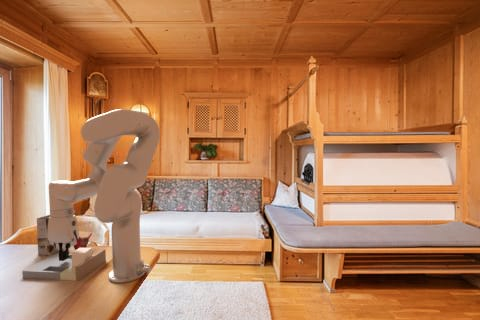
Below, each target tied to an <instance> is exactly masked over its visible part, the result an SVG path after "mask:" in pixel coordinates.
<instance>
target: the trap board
mask: <svg viewBox="0 0 480 320" xmlns="http://www.w3.org/2000/svg"><path fill="white" fill-rule="evenodd" d="M106 256H107V255H106V249H102V250H99V251H98V252H97V253H95V254H92V257H90V258H89V259H87V260H85V261H84V262H82V263H81V264H79V265H77V266H72V255H71V253H69V258H68V259H66V260H64V261H59V252H55V253H53V254H51V255H49V257H47V258H44V259H43V260H40V261H39V262H37V263H35V264H33V265H31V266H29V267H27V268H25V269H23V270H22V278H23V279H40V280H44V279H45V280H60V281H80V280H82V279H83V278H84V277H86V276H87V275H89V274H90V273H91V272H93V271H95V270H96V269H97V268H99V267H100V266H102V265H103V264H105V262H106V261H107V260H106V259H107V257H106Z"/></svg>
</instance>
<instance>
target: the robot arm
mask: <svg viewBox="0 0 480 320" xmlns="http://www.w3.org/2000/svg"><path fill="white" fill-rule="evenodd" d="M80 135H81V137H82V139H83V141H84V142H86V143H87V146H86V147H85V149H84V151H83V152H82V158H83V160H84V161H86V163H87V164H89V165H91V170H90V172H89V174H88V176H87V178H83V179H78V180H74V181H71V180H67V179H64V180H61V179H59V180H53V181H50V182H49V184H48V202H49V205H48V206H49V215H50V217H49V220H48V231H47V232H48V241H49V243H50V244H51V245H54V246H55V247H56V249H57V250H58V251H57V252H58V253H59V261H64V260H66V259H68V258H69V254H70V251H69V249H70V248H71V247H74V245H76V244H77V241H76V240H77V239H79V237H80V230H79V229H80V228H79V224H78V219H77V216H76V215H75V213H76V210H75V209H74V203H75V202H80V201H82V200H86V199H89V198H93V197H95V196H96V197H95V198H96V199H95V201H94V205H93V206H94V207H93V211H94V215H95V217H96V218H97V220H98V221H99V222H101V223H105V224H110V223H111V250H112V251H111V252H112V253H111V254H112V270H111V271H109V273H108V280H109V281H110V282H112V283H118V284H119V283H121V284H122V283H128V282H133V281H136V280H138V279H141V278H142V277H143V276H144V275H145V273H151V270H152V267H151V264H148V263H147V264H146V263H144V260H143V259H142V258H141V256H142V255H141V253H142V252H141V230H140V229H141V227H140V226H141V225H140V224H141V219H140V218H141V212H142V197H141V196H140V193H138V192H137V191H136V189H138V188H140V187H142V186H143V185H144V184H145V182H146V180H147V178H148V175H149V171H150V168H151V166H152V162H153V160H154V156H155V153H156V150H157V149H158V145H159V143H160V138H161V131H160V126H159V124H158V123H157V121H156V120H155V119H154V117H152V115H150V114H148V113H146V112H143V111H138V110H132V109H125V108H119V109H114V110H110V111H108V112H105V113H102V114H99V115H96V116H94V117H91V118H89V119H87V120H86V121H85V122H84V123H83V124H82V126H81V129H80ZM123 136H135V140H134V141H133V142H132V144H131V145H130V147H129V148H128V152H127V155H126V157H125V160H124V161H123V162H122V163H117V164H113V165H112V166H109V167H108V165H107V164H108V162H109V159H110V158H111V156H112V154H113V152H114V150H115V148H116V147H117V145H118V143H119V141H120V139H121V138H122V137H123Z"/></svg>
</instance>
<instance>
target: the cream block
mask: <svg viewBox="0 0 480 320" xmlns="http://www.w3.org/2000/svg"><path fill="white" fill-rule="evenodd" d="M70 254H71V255H72V266H77V265H79V264H81V263H82V262H84V261H85V260H87V259H89V258H90V257H92V255H93V247H86V248H78V249H77V250H75V249H74V250H73V251H72V252H71V253H70Z"/></svg>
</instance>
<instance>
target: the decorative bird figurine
mask: <svg viewBox="0 0 480 320" xmlns="http://www.w3.org/2000/svg"><path fill="white" fill-rule="evenodd" d="M92 235H93V233H92V232H91V233H90V234H89V235H88V236H84V237H81V236H79V239H77V240H76V241H77V244H76V245H73V248H74V251H75V250H77V249H78V248H87V247H88V244H89V242H90V241H89V240H90V238H91V236H92Z"/></svg>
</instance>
